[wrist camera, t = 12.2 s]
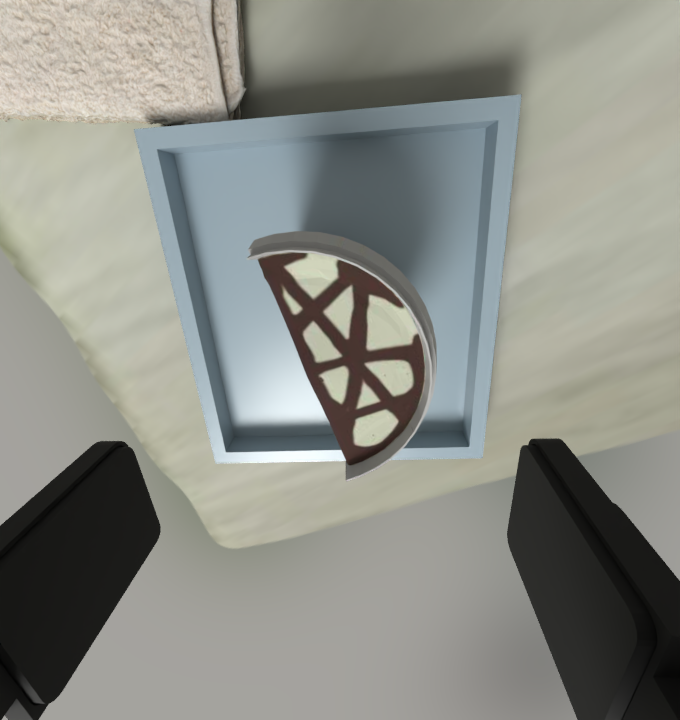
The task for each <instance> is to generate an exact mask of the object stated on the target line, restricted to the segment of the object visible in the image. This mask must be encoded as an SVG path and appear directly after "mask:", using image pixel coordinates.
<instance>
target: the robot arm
mask: <svg viewBox="0 0 680 720" xmlns="http://www.w3.org/2000/svg"><path fill="white" fill-rule="evenodd" d="M159 535H160V524H159V520H158V518H157V515H156V512H155V509H154V507H153V504H152V501H151V498H150V495H149V492H148V489H147V487H146V484H145V481H144V478H143V475H142V473H141V470H140V467H139V464H138V461H137V459H136V456H135V453H134V451H133V449H132V448H130V447H128V445H127V444H126V443H125V442H122V441H100V442H97V443H95V444H94V445H92V446H91V447H90V448H89V449H88V450H87V451H86V452H85V453H83V454H82V455H81V456H80V457H79V458H78V459H76V460H75V461H74V462H73V463H72V464H71V465H69V466H68V467H67V468H66V469H65V470H64V471H63V472H62V473H60V474H59V475H58V476H57V477H56V478H55V479H53V480H52V481H51V482H50V483H49V484H48V485H47V486H45V487H44V488H43V489H42V490H41V491H40V492H39V493H37V494H36V495H35V496H34V497H33V498H32V499H30V500H29V501H28V502H27V503H26V504H25V505H24V506H22V508H20V509H19V510H18V511H17V512H16V513H14V514H13V515H12V516H11V517H10V518H9V519H8V520H6V521H5V522H4V523H3V524H2V525H1V526H0V720H2V718H3V716H4V715H5V716H6V718H8V720H38V719H39V718H40V716H41V715H42V713H43V712H44V710H45V709H46V707H47V706H48V704H49V703H51V702H52V701H54V700H55V699H56V698H57V697H58V696H59V695H60V693H61V692H62V691H63V689H64V688H65V686H66V684H67V683H68V681H69V680H70V678H71V677H72V675H73V673H74V672H75V670H76V668H77V667H78V665H79V664H80V662H81V661H82V659H83V658H84V656H85V654H86V653H87V651H88V650H89V648H90V647H91V645H92V643H93V642H94V640H95V638H96V637H97V635H98V634H99V632H100V631H101V629H102V627H103V626H104V624H105V622H106V621H107V620H108V618H109V616H110V615H111V613H112V612H113V610H114V609H115V607H116V605H117V604H118V602H119V601H120V599H121V598H122V596H123V594H124V593H125V591H126V590H127V588H128V586H129V585H130V583H131V582H132V580H133V578H134V577H135V575H136V574H137V572H138V571H139V569H140V567H141V565H142V564H143V563H144V561H145V560H146V558H147V556H148V555H149V553H150V552H151V550H152V549H153V547H154V545H155V544H156V542H157V540H158V538H159ZM507 538H508V544H509V547H510V551H511V553H512V556H513V558H514V561H515V563H516V566H517V568H518V571H519V573H520V576H521V578H522V581H523V583H524V586H525V588H526V591H527V593H528V596H529V598H530V601H531V603H532V606H533V608H534V611H535V614H536V616H537V619H538V621H539V623H540V626H541V629H542V631H543V634H544V636H545V639H546V641H547V644H548V646H549V649H550V651H551V654H552V656H553V659H554V661H555V664H556V666H557V669H558V671H559V674H560V676H561V679H562V682H563V684H564V686H565V689H566V691H567V694H568V696H569V699H570V702H571V704H572V706H573V709H574V712H575V714H576V717H577V719H578V720H680V581H679V580H678V578H677V577H676V576H675V575H674V573H673V572H672V571H671V570H670V568H669V567H668V566H667V565H666V563H665V562H664V561H663V560H662V559H661V558H660V556H659V555H658V554H657V552H655V550H654V549H653V547H652V546H651V545H650V544H649V543H648V541H647V540H646V539H645V538H644V536H643V535H642V534H641V533H640V531H639V530H638V529H637V528H636V527H635V525H634V524H633V523H632V522H631V521H630V519H629V518H628V517H627V515H626V514H625V513H624V512H623V511H622V510H621V509H620V508H619V507H618V506H617V505H616V504H614V503H612V502H611V500H610V499H609V498H608V497H607V495H606V494H605V493H604V492H603V490H602V489H601V488H600V487H599V485H598V484H597V483H596V482H595V480H594V479H593V478H592V476H591V475H590V474H589V473H588V472H587V470H586V469H585V468H584V467H583V465H582V464H581V463H580V462H579V460H578V459H577V458H576V456H575V455H574V454H573V453H572V451H571V450H570V449H569V448H568V446H567V445H566V444H565V443H564V442H563V441H562V440H561V439H531V440H530V442H529V444H528V445H524V446H522V447H521V450H520V456H519V462H518V469H517V475H516V481H515V487H514V493H513V500H512V506H511V512H510V518H509V524H508V531H507Z"/></svg>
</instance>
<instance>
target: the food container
mask: <svg viewBox="0 0 680 720" xmlns="http://www.w3.org/2000/svg"><path fill="white" fill-rule="evenodd" d="M248 251H249V253H250V256H249V257H247V258H246V259H247V260H256V259H258V262H259V265H260V267H261V269H262V272H263V275H264V278H265V279H266V281H267V283H268V284H269V286H270V288H271V290H272V292H273V295H274V297H275V299H276V302H277V304H278V306H279V309H280V311H281V313H282V316H283V318H284V320H285V323H286V325H287V328H288V330H289V332H290V335H291V337H292V340H293V342H294V345H295V347H296V350H297V352H298V355H299V358H300V360H301V363H302V365H303V368H304V370H305V373H306V375H307V378H308V380H309V382H310V384H311V386H312V388H313V390H314V392H315V394H316V396H317V398H318V400H319V402H320V404H321V406H322V408H323V410H324V413H325V415H326V417H327V419H328V421H329V423H330V426H331V428H332V430H333V432H334V435H335V437H336V439H337V442H338V444H339V446H340V448H341V451H342V453H343V455H344V457H345V460H346V481H349V480H352V479H355V478H358V477H361V476H363V475H365V474H367V473H370V472H372V471H374V470H376V469H378V468H379V467H381V466H382V465H383V464H385V463H386V462H388V461H389V460H391V459H392V458H393V457H394V456H395V455H396V454H398V453H399V452H400V451H401V450H402V449H403V448H404V447H405V446H406V444H407V443H408V442H409V441H410V439H411V438H412V437H413V436H414V434H415V433H416V431H417V429H418V428H419V426H420V424H421V422H422V420H423V419H424V417H425V415H426V413H427V411H428V408H429V405H430V402H431V399H432V397H433V393H434V387H435V381H436V370H437V344H436V338H435V333H434V328H433V324H432V321H431V319H430V316H429V313H428V311H427V308H426V306H425V304H424V302H423V300H422V299H421V297H420V295H419V294H418V292H417V290H416V289H415V287H414V286H413V285H412V284H411V282H410V281H409V280H408V279H407V278H406V277H405V275H404V274H403V273H402V272H401V271H400V270H399V269H398V268H397V267H395V266H394V265H393V264H392V263H391V262H389V261H388V260H387V259H386V258H385V257H383V256H382V255H380V254H378V253H376V252H375V251H373V250H371V249H370V248H368V247H366V246H365V245H362V244H360V243H357V242H355V241H352V240H349V239H347V238H344V237H341V236H336V235H331V234H327V233H322V232H307V231H293V232H285V233H278V234H272V235H269V236H265V237H262V238H259V239H255V240H254V241H253V243H252V244H251V246H250V247H249V249H248Z"/></svg>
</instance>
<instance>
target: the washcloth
mask: <svg viewBox="0 0 680 720" xmlns="http://www.w3.org/2000/svg"><path fill="white" fill-rule="evenodd" d="M243 34H244V33H243V23H242V14H241V9H240V0H0V119H3V120H4V121H5V122H7V121H8V119H9V118H11V119H12V118H15V119H19V120H22V121H23V120H27V119H43V120H48V121H50V120H53V121H54V120H56V121H57V122H60V121H69V122H78V121H83V122H85V123H94V124H96V123H97V122H99V123H101V124H104V123H108V122H111V123H116V122H121V121H122V122H127V123H129V122H133V123H135V122H139V123H143V124H146V123H149V124H153V123H155V124H156V123H160V124H165V125H168V124H171V125H173V124H179V125H187V124H199V123H210V122H221V121H232V120H241V111H240V102H241V99H242V97H243V95H244V92H245V90H246V88H245V87H244V82H245V66H244V36H243Z"/></svg>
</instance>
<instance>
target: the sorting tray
mask: <svg viewBox="0 0 680 720" xmlns="http://www.w3.org/2000/svg"><path fill="white" fill-rule="evenodd" d="M521 95H522V94H521ZM521 95H510V96H499V97H488V98H477V99H466V100H455V101H443V102H432V103H421V104H410V105H399V106H388V107H377V108H366V109H354V110H343V111H332V112H321V113H310V114H299V115H288V116H276V117H265V118H254V119H243V120H232V121H221V122H210V123H199V124H187V125H176V126H165V127H154V128H143V129H134V132H135V136H136V140H137V144H138V148H139V153H140V157H141V161H142V165H143V169H144V173H145V177H146V181H147V185H148V189H149V193H150V198H151V202H152V206H153V210H154V214H155V218H156V222H157V226H158V230H159V234H160V238H161V242H162V247H163V251H164V255H165V259H166V263H167V267H168V271H169V275H170V279H171V283H172V287H173V291H174V296H175V300H176V304H177V308H178V312H179V316H180V320H181V324H182V328H183V332H184V336H185V341H186V345H187V349H188V353H189V357H190V361H191V365H192V369H193V373H194V377H195V381H196V385H197V390H198V394H199V398H200V402H201V406H202V410H203V414H204V418H205V422H206V426H207V430H208V434H209V439H210V443H211V447H212V451H213V455H214V459H215V463H264V462H313V461H346V460H345V457H344V455H343V453H342V451H341V448H340V446H339V444H338V442H337V439H336V437H335V435H334V432H333V430H332V428H331V426H330V423H329V421H328V419H327V417H326V415H325V413H324V410H323V408H322V406H321V404H320V402H319V400H318V398H317V396H316V394H315V392H314V390H313V388H312V386H311V384H310V382H309V380H308V378H307V375H306V373H305V370H304V368H303V365H302V363H301V360H300V358H299V355H298V352H297V350H296V347H295V345H294V342H293V340H292V337H291V335H290V332H289V330H288V328H287V325H286V323H285V320H284V318H283V316H282V313H281V311H280V309H279V306H278V304H277V302H276V299H275V297H274V295H273V292H272V290H271V288H270V286H269V284H268V283H267V281H266V279H265V278H264V275H263V272H262V269H261V267H260V265H259V262H258V259H256V260H247V259H246V258H247V257H249V256H250V253H249V251H248V249H249V247H250V246H251V244H252V243H253V241H254V240H255V239H259V238H262V237H265V236H269V235H272V234H278V233H285V232H293V231H307V232H322V233H327V234H331V235H336V236H341V237H344V238H347V239H349V240H352V241H355V242H357V243H360V244H362V245H365V246H366V247H368V248H370V249H371V250H373V251H375V252H376V253H378V254H380V255H382V256H383V257H385V258H386V259H387V260H388V261H389V262H391V263H392V264H393V265H394V266H395V267H397V268H398V269H399V270H400V271H401V272H402V273H403V274H404V275H405V277H406V278H407V279H408V280H409V281H410V282H411V284H412V285H413V286H414V287H415V289H416V290H417V292H418V294H419V295H420V297H421V299H422V300H423V302H424V304H425V306H426V308H427V311H428V313H429V316H430V319H431V321H432V324H433V328H434V333H435V338H436V344H437V370H436V381H435V387H434V393H433V397H432V399H431V402H430V405H429V408H428V411H427V413H426V415H425V417H424V419H423V420H422V422H421V424H420V426H419V428H418V429H417V431H416V433H415V434H414V436H413V437H412V438H411V439H410V441H409V442H408V443H407V444H406V446H405V447H404V448H403V449H402V450H401V451H400V452H399V453H398V454H396V455H395V456H394V457H393V458H392V459H391V460H411V459H461V458H483V448H484V439H485V430H486V420H487V411H488V402H489V393H490V383H491V374H492V365H493V355H494V346H495V337H496V327H497V318H498V309H499V299H500V290H501V281H502V271H503V262H504V253H505V244H506V234H507V225H508V216H509V206H510V197H511V188H512V178H513V169H514V160H515V150H516V141H517V132H518V122H519V113H520V104H521Z"/></svg>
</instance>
